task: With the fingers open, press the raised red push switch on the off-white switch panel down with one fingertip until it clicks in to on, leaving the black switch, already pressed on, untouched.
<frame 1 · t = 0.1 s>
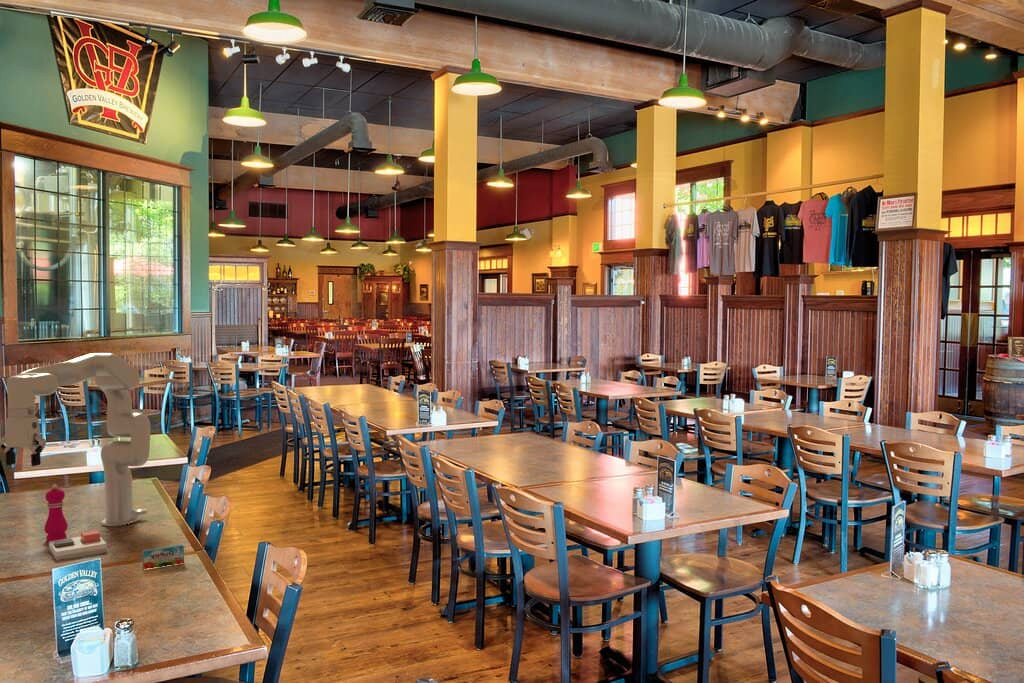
hand: (23, 464, 265), 31 cm above the table, tool pointing down, fingers open, 9 cm apart
blue printed product box: (163, 567, 257), on the table
button red: (90, 536, 276), point 4 cm above the table, slide at 0.0 cm
pepper mill: (56, 540, 287), on the table
switch panel: (77, 551, 274), on the table
button black: (64, 544, 271), point 3 cm above the table, slide at 1.4 cm
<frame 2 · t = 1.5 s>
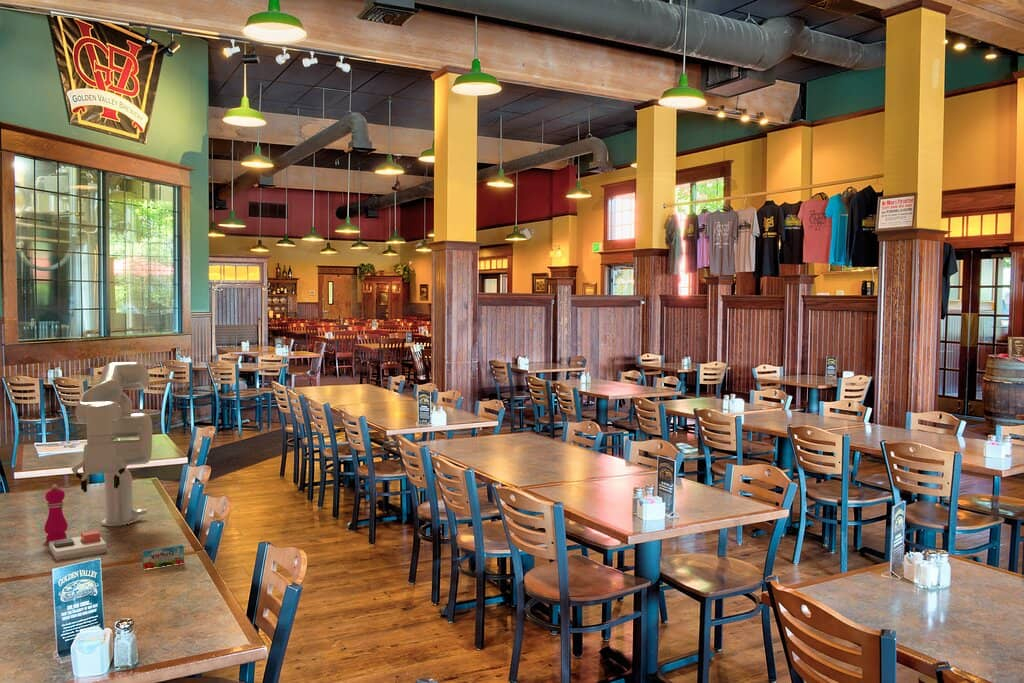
hand: (100, 489, 277), 20 cm above the table, tool pointing down, fingers open, 9 cm apart
nothing on the table moved.
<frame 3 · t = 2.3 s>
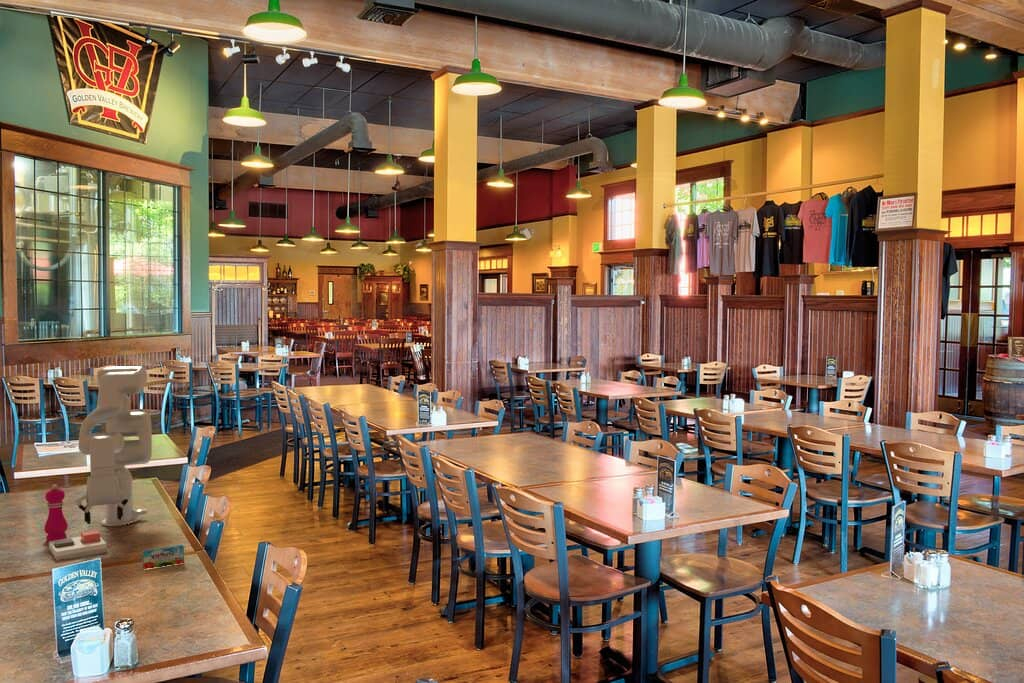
hand: (104, 521, 278), 9 cm above the table, tool pointing down, fingers open, 9 cm apart
nothing on the table moved.
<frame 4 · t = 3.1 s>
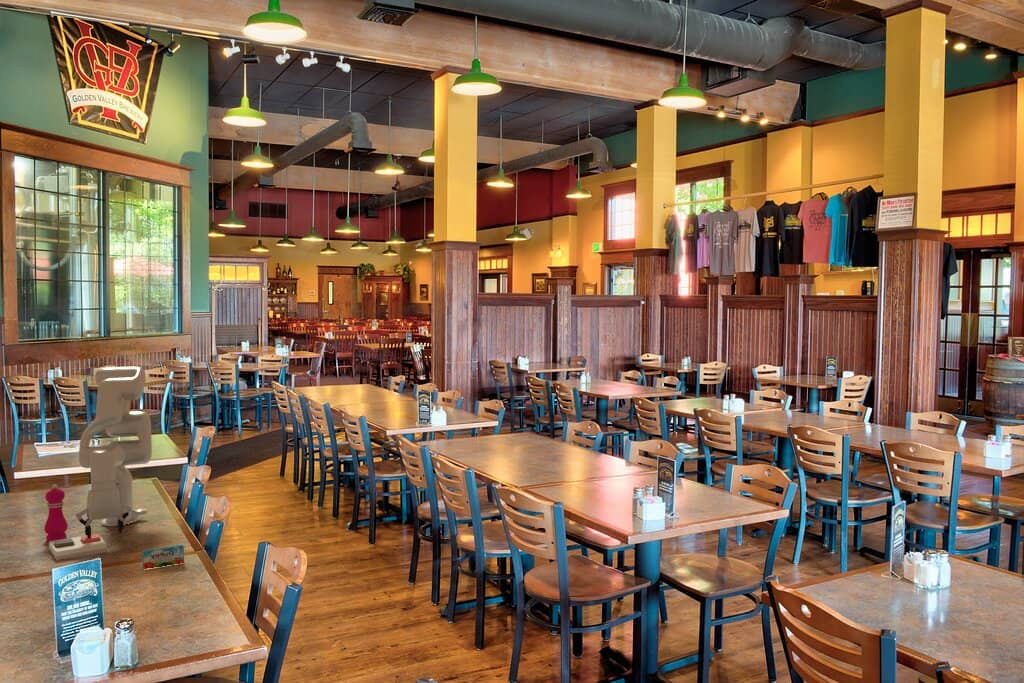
hand: (104, 534, 278), 4 cm above the table, tool pointing down, fingers open, 9 cm apart
button red: (90, 540, 276), point 3 cm above the table, slide at 1.4 cm, touching gripper
everything else where it was.
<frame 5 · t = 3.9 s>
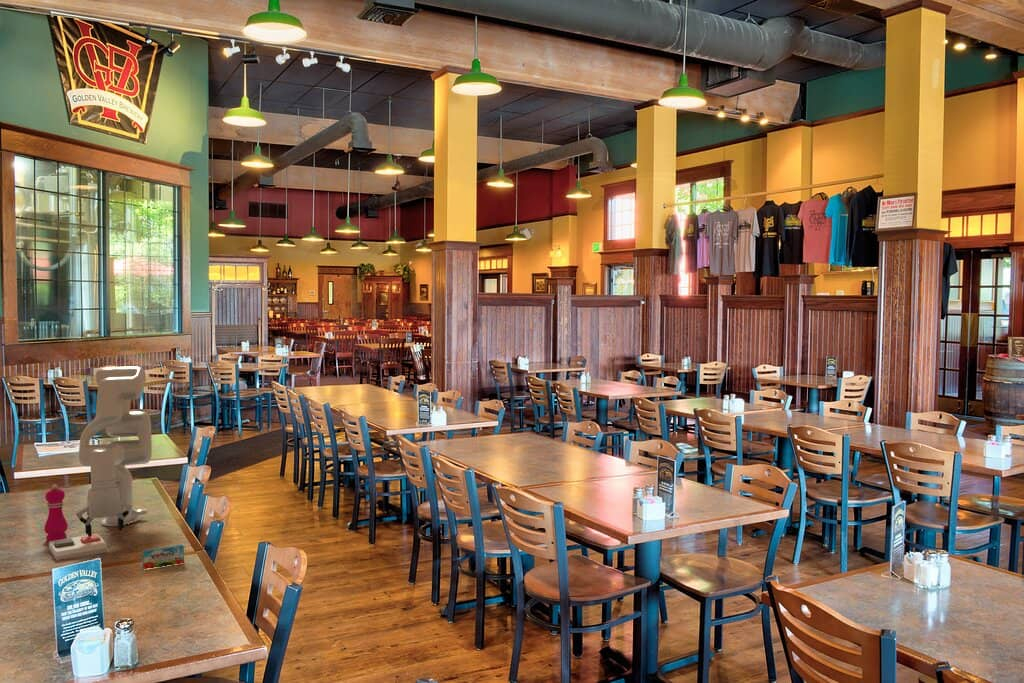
hand: (104, 533, 279), 5 cm above the table, tool pointing down, fingers open, 9 cm apart
button red: (90, 540, 276), point 3 cm above the table, slide at 1.5 cm
everything else where it was.
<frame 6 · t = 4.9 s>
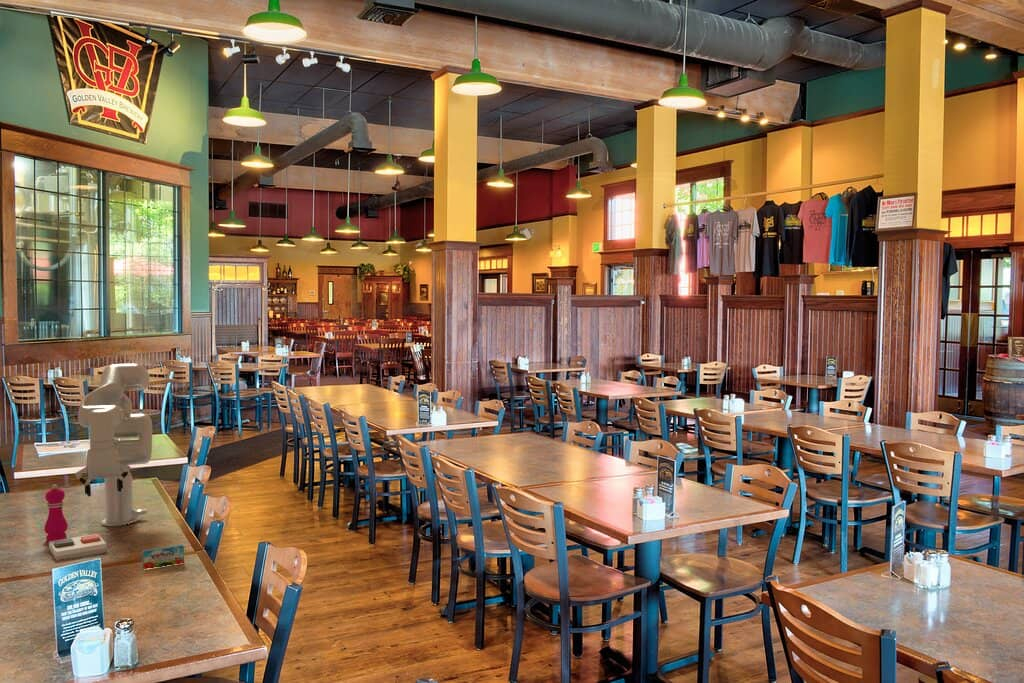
hand: (104, 493, 280), 18 cm above the table, tool pointing down, fingers open, 9 cm apart
nothing on the table moved.
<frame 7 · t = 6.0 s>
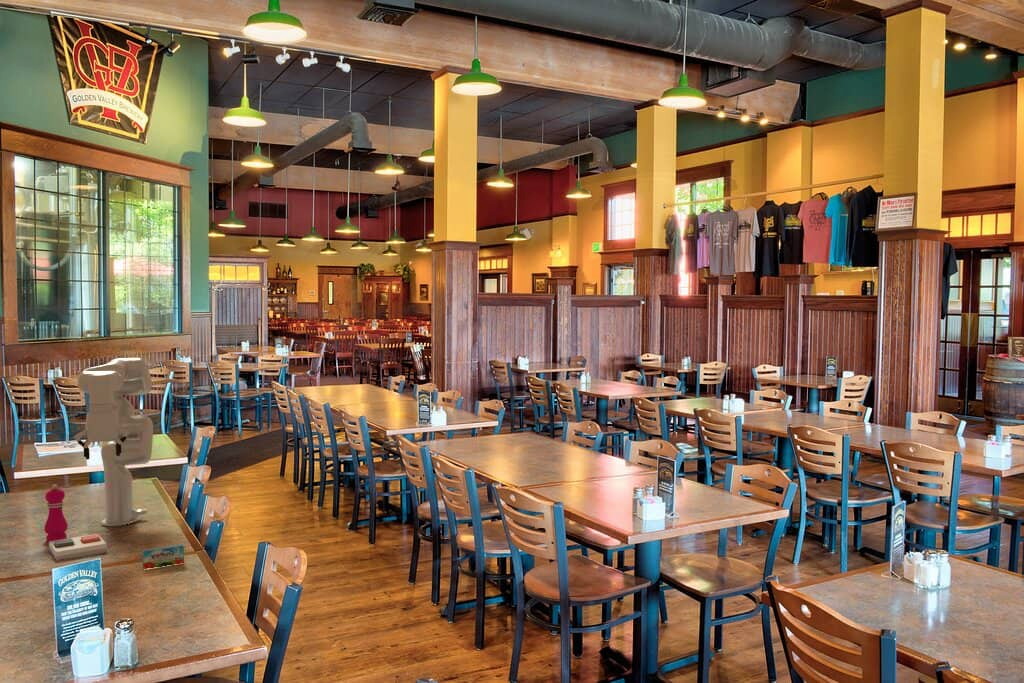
hand: (102, 457, 282), 30 cm above the table, tool pointing down, fingers open, 9 cm apart
nothing on the table moved.
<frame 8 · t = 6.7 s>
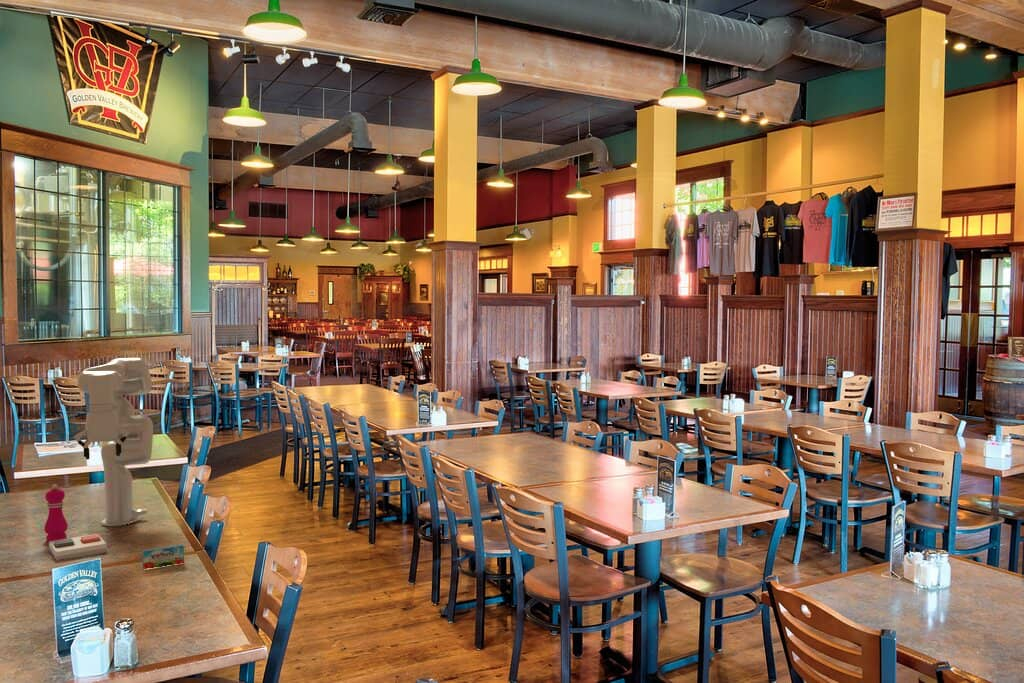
hand: (102, 457, 282), 30 cm above the table, tool pointing down, fingers open, 9 cm apart
nothing on the table moved.
at the end: button red slide at 1.5 cm; button black slide at 1.4 cm; pepper mill moved 0.2 cm from its start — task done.
